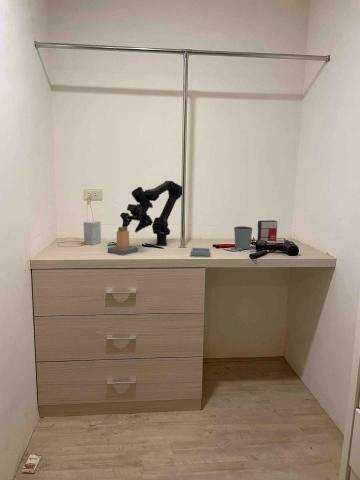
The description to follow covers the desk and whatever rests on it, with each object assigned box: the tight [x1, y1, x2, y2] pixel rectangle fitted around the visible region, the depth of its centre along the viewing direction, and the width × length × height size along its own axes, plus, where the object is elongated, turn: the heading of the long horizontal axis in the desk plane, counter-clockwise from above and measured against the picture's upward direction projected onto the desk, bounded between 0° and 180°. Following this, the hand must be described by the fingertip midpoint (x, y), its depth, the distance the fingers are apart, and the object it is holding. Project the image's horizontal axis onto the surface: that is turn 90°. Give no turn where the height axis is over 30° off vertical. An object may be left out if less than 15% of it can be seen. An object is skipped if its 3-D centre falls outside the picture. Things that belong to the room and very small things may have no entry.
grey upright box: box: [256, 219, 278, 243], centre depth 224 cm, size 11×4×15 cm, turn 105°
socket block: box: [107, 245, 139, 256], centre depth 196 cm, size 11×11×4 cm
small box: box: [83, 220, 102, 246], centre depth 220 cm, size 8×6×13 cm
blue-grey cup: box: [233, 225, 253, 250], centre depth 216 cm, size 10×10×12 cm
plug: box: [116, 226, 130, 249], centre depth 195 cm, size 5×4×13 cm
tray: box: [190, 247, 212, 258], centre depth 198 cm, size 10×10×2 cm
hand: (128, 231), depth 198 cm, fingers open, 9 cm apart
